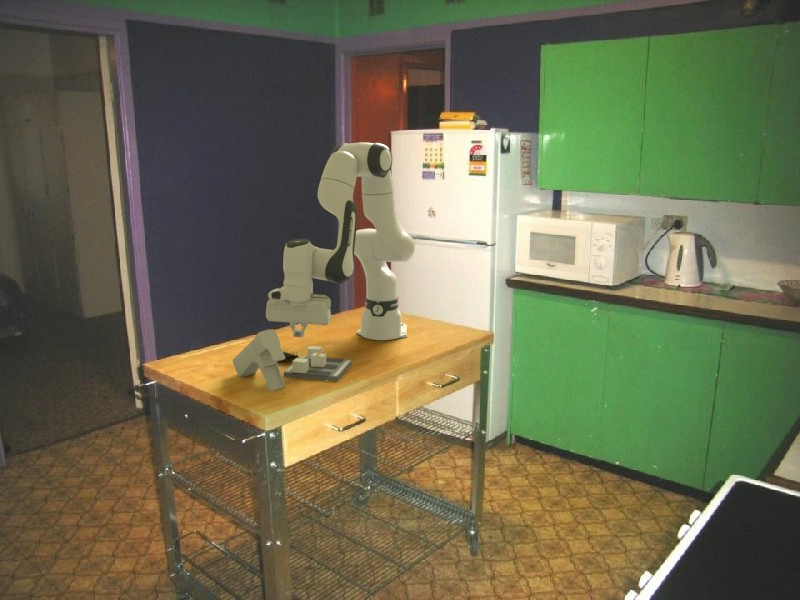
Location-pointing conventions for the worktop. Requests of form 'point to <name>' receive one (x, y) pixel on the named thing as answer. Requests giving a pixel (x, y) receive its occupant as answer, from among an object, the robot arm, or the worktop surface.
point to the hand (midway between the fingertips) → (298, 336)
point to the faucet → (262, 359)
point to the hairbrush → (288, 356)
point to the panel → (322, 370)
